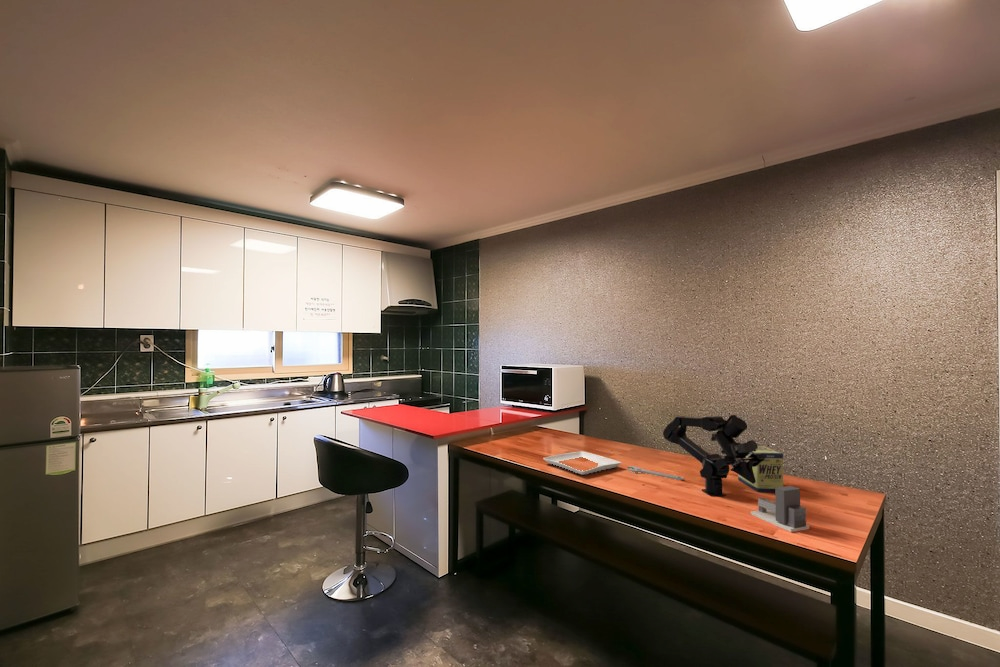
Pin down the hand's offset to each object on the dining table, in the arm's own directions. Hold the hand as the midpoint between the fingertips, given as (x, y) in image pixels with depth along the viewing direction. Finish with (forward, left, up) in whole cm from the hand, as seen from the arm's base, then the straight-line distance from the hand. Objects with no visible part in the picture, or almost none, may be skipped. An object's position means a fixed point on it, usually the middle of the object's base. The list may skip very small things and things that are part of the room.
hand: (754, 482), depth 149 cm
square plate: (-58, -46, -10) cm, 75 cm away
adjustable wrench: (-43, -17, -10) cm, 47 cm away
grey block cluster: (+9, +2, -9) cm, 13 cm away
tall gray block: (+12, +3, -8) cm, 15 cm away
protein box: (-25, +21, -10) cm, 34 cm away
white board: (+9, +2, -10) cm, 13 cm away
